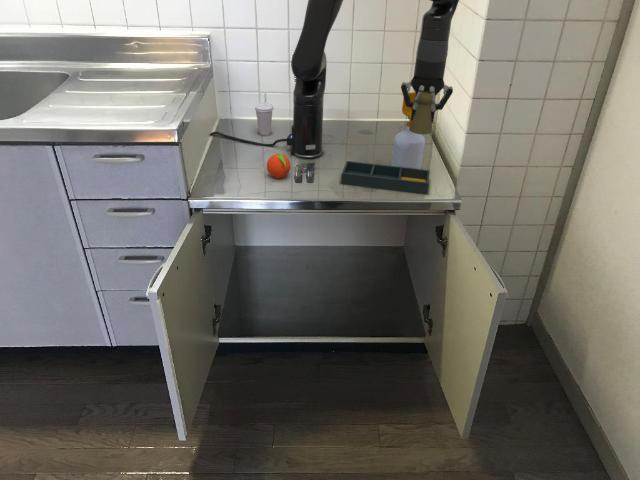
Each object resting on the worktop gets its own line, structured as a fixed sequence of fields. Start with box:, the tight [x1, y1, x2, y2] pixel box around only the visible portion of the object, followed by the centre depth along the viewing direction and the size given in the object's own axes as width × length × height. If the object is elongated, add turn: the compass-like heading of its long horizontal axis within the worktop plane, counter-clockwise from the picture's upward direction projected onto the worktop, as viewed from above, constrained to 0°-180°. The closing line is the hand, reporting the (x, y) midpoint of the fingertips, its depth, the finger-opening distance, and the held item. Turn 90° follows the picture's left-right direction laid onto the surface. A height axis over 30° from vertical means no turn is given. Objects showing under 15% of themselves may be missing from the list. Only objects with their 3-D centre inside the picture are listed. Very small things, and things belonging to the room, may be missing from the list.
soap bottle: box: [390, 91, 426, 169], centre depth 147 cm, size 9×9×25 cm
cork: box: [409, 91, 437, 135], centre depth 133 cm, size 6×6×11 cm
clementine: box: [266, 153, 292, 179], centre depth 145 cm, size 8×7×7 cm
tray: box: [340, 160, 430, 195], centre depth 146 cm, size 25×9×3 cm, turn 78°
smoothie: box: [254, 92, 275, 136], centre depth 171 cm, size 6×6×14 cm
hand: (421, 122), depth 135 cm, fingers closed on cork, 3 cm apart
